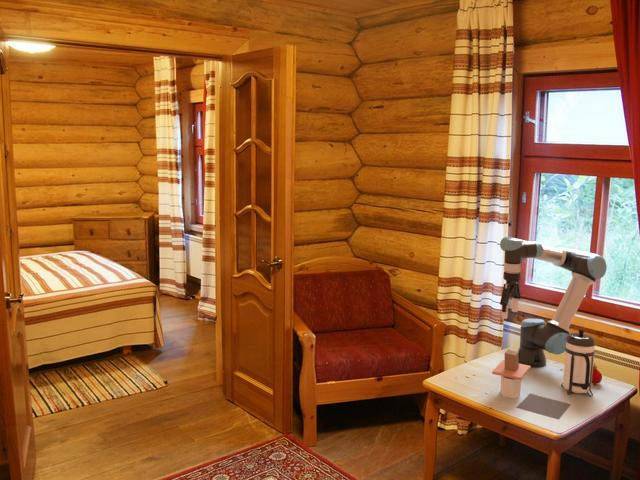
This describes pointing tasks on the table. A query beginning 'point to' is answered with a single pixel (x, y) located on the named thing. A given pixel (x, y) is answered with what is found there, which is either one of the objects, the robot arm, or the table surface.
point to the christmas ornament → (596, 375)
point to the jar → (510, 387)
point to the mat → (544, 406)
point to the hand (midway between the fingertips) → (509, 315)
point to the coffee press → (579, 363)
